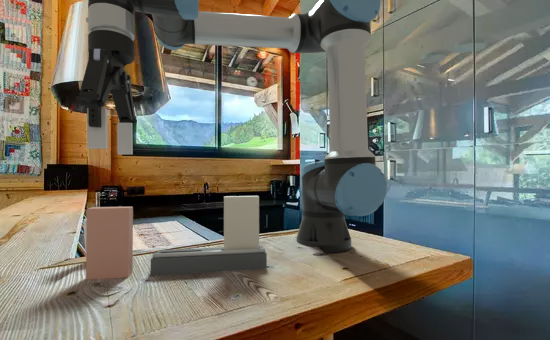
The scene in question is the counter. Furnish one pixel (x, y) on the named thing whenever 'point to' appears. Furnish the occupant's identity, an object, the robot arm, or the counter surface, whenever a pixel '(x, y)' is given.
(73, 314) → the counter surface
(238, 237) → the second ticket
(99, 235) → the panel
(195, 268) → the grey stand base
